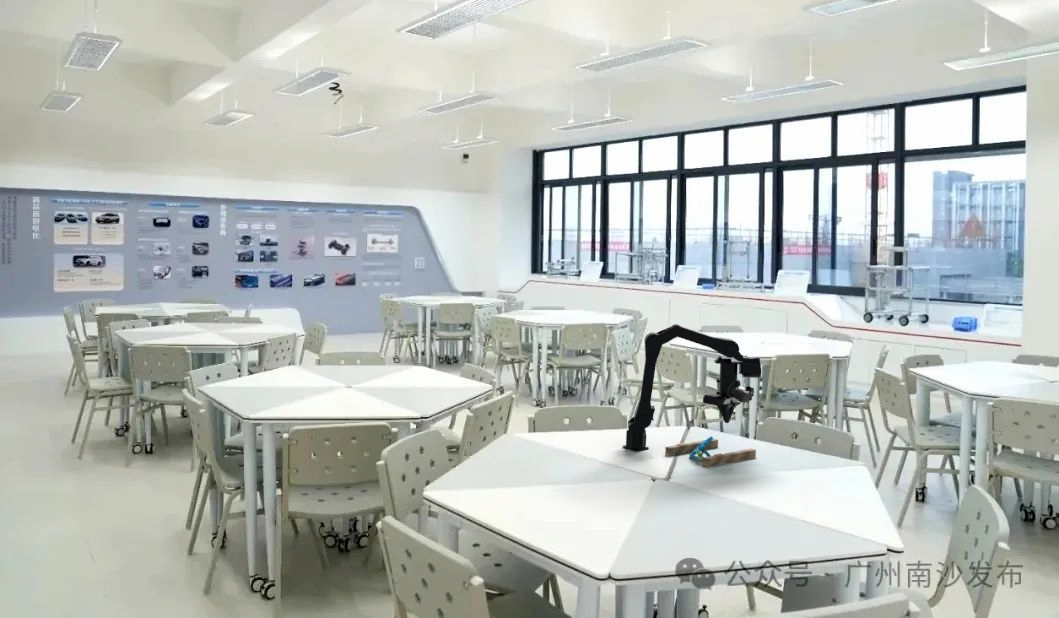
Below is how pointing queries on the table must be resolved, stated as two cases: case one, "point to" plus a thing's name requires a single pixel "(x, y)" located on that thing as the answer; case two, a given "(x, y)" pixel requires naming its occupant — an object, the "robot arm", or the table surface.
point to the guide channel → (711, 459)
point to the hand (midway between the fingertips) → (726, 422)
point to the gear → (702, 449)
